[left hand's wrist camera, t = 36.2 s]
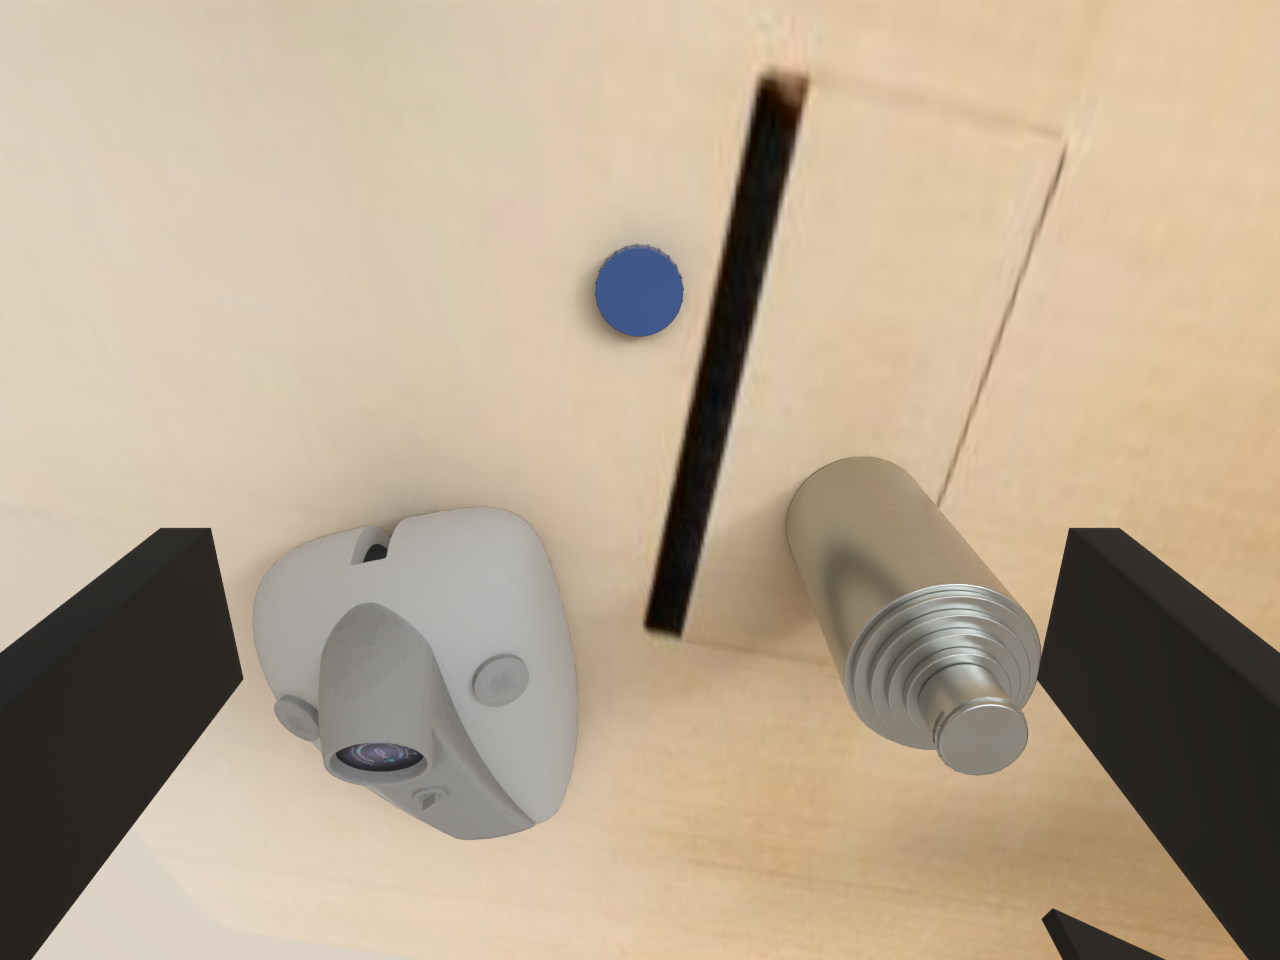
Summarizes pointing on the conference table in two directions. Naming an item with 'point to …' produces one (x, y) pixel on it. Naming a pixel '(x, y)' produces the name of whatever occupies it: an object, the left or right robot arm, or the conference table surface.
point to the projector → (429, 666)
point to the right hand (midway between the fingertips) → (1173, 833)
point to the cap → (639, 290)
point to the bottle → (913, 616)
